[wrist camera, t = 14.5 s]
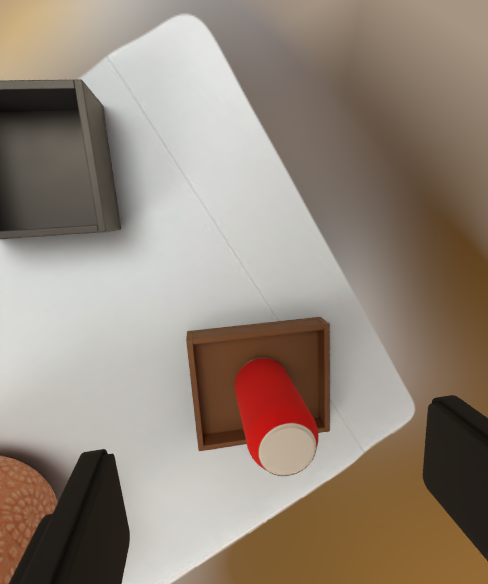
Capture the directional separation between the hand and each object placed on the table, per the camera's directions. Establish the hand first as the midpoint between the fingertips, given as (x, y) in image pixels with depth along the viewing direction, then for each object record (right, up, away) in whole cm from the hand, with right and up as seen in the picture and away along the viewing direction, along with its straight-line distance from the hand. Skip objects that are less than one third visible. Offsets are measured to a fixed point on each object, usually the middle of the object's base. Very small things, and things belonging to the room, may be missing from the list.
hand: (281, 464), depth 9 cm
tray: (+1, -5, +29) cm, 29 cm away
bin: (-19, +16, +21) cm, 32 cm away
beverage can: (+1, -5, +28) cm, 29 cm away
